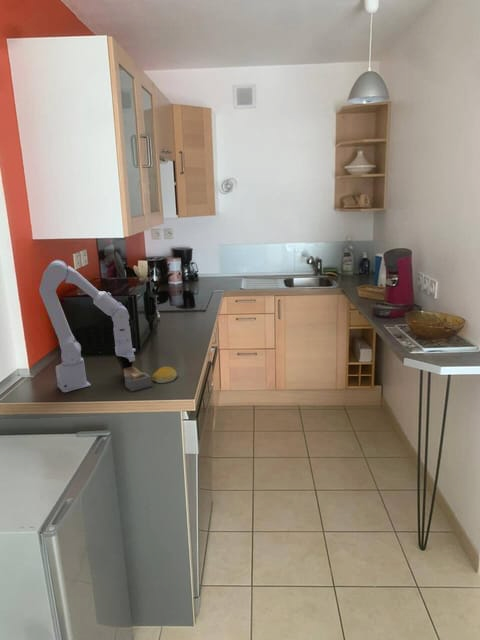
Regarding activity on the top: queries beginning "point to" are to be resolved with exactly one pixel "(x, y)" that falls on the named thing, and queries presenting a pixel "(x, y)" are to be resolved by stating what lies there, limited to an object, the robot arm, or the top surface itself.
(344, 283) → the top surface
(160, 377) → the bread roll
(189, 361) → the top surface
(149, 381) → the end cap
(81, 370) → the robot arm
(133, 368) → the brown wooden block
